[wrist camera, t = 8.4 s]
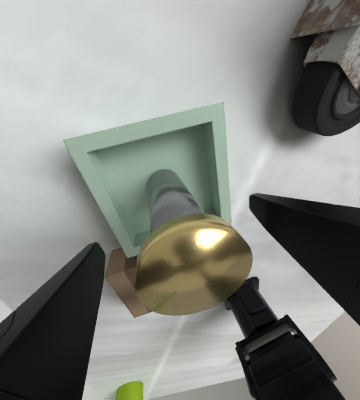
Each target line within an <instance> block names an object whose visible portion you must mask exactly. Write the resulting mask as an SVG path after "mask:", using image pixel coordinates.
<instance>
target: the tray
mask: <svg viewBox="0 0 360 400" xmlns="http://www.w3.org/2000/svg"><path fill="white" fill-rule="evenodd" d="M63 142H64V144H65V146H66V148H67V149H68V151H69V153H70V155H71V157H72V158H73V160H74V162H75V164H76V166H77V168H78V169H79V171H80V173H81V175H82V177H83V178H84V180H85V182H86V184H87V186H88V187H89V189H90V191H91V193H92V195H93V196H94V198H95V200H96V202H97V204H98V206H99V207H100V209H101V211H102V213H103V215H104V216H105V218H106V220H107V222H108V224H109V225H110V227H111V229H112V231H113V233H114V235H115V236H116V238H117V240H118V242H119V244H120V245H121V247H122V249H123V251H124V253H125V254H126V256H127V258H130V257H133V256H136V255H138V253H139V250H140V248H141V246H142V244H143V242H144V241H145V240H146V238H147V237H148V236H149V235H150V234H151V233H150V216H149V200H148V180H149V178H150V176H151V175H152V174H153V173H154V172H156V171H158V170H160V169H169V170H172V171H174V172H175V173H176V174H177V175H178V176H179V177H180V179H181V180H182V182H183V183H184V184H185V186H186V187H187V189H188V190H189V191H190V193H191V194H192V196H193V197H194V199H195V200H196V201H197V203H198V204H199V206H200V207H201V208H202V210H203V211H204V213H205V214H211V215H215V216H218V217H220V218H222V219H224V220H226V221H227V222H228V223H229V224H230V225H231V211H230V194H229V177H228V160H227V143H226V127H225V110H224V102H221V103H217V104H213V105H209V106H205V107H200V108H196V109H192V110H188V111H184V112H179V113H175V114H171V115H167V116H163V117H158V118H154V119H150V120H146V121H141V122H137V123H133V124H129V125H125V126H120V127H116V128H112V129H108V130H104V131H99V132H95V133H91V134H87V135H83V136H78V137H74V138H70V139H66V140H63Z"/></svg>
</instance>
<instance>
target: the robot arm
mask: <svg viewBox="0 0 360 400" xmlns="http://www.w3.org/2000/svg"><path fill="white" fill-rule="evenodd" d="M249 208H250V210H251V212H252V213H253V214H254V215H255V217H256V218H257V219H258V221H259V222H260V223H261V224H262V226H263V227H264V228H265V229H266V230H267V231H268V232H269V233H270V234H271V235H272V237H273V238H274V239H275V240H276V241H277V242H278V243H279V244H280V245H281V246H282V247H283V248H284V249H285V250H286V251H287V252H288V253H289V254H290V255H291V256H292V257H293V258H294V259H295V260H296V261H297V262H298V263H299V264H300V265H301V266H302V267H303V268H304V269H305V270H306V271H307V272H308V273H309V274H310V275H311V276H312V277H313V278H314V279H315V280H316V281H317V282H318V283H319V285H320V286H321V287H322V288H323V289H324V290H325V291H326V292H327V293H328V294H329V295H330V296H331V297H332V298H333V299H334V300H335V301H336V302H337V303H338V304H339V305H340V306H341V307H342V308H343V309H344V310H345V311H346V312H347V313H348V314H349V315H350V316H351V317H352V318H353V319H354V320H355V321H356V322H357V323H358V324H359V326H360V208H357V207H349V206H342V205H333V204H328V203H321V202H315V201H308V200H301V199H294V198H287V197H281V196H274V195H267V194H260V193H255V194H252V195H250V197H249ZM104 267H105V253H104V251H103V250H102V248H101V246H100V245H99V243H97V242H95V243H91V244H89V245H87V246H86V247H85V248H84V249H83V250H82V251H81V252H79V253H78V254H77V255H76V256H75V257H74V258H73V259H72V260H71V261H69V262H68V263H67V264H66V265H65V266H64V267H63V268H62V269H60V270H59V271H58V272H57V273H56V274H55V275H54V276H53V277H51V278H50V279H49V280H48V281H47V282H46V283H45V284H44V285H43V286H41V287H40V288H39V289H38V290H37V291H36V292H35V293H34V294H32V295H31V296H30V297H29V298H28V299H27V300H26V301H25V302H23V303H22V304H21V305H20V306H19V307H18V308H17V309H16V310H15V311H13V312H12V313H11V314H10V315H9V316H8V317H7V318H6V319H5V320H3V321H2V322H1V323H0V400H82V396H83V391H84V385H85V380H86V374H87V369H88V364H89V358H90V353H91V347H92V342H93V337H94V331H95V326H96V320H97V315H98V310H99V304H100V299H101V293H102V288H103V281H104ZM258 289H259V279H258V278H257V277H254V278H252V279H249V280H246V281H244V283H243V284H242V285H241V286H240V288H239V289H238V290H237V291H236V292H234V293H233V294H232V295H231V296H230V297H228V298H227V299H225V307H226V310H230V309H231V310H232V312H233V314H234V316H235V318H236V320H237V322H238V324H239V326H240V328H241V330H242V333H243V335H244V337H245V339H243V340H242V341H240V342H239V341H238V342H236V346H237V347H236V348H235V349H236V351H237V354H238V356H239V359H240V361H241V364H242V367H243V371H244V374H245V378H246V381H247V385H248V388H249V391H250V394H251V396H252V397H253V398H254V399H255V400H345V398H344V397H343V396H342V394H341V393H340V392H339V390H338V389H337V388H336V386H335V385H334V383H333V382H334V381H336V380H337V378H336V376H335V375H334V374H333V372H332V370H331V369H330V368H329V366H328V365H327V363H326V362H325V361H324V359H323V358H322V357H321V355H320V354H319V353H318V351H317V350H316V349H315V348H314V346H313V345H312V344H311V343H310V342H309V340H308V339H307V338H306V337H305V335H304V334H303V333H302V332H301V331H300V329H299V328H298V327H297V326H296V324H295V323H294V322H293V321H292V319H291V318H290V317H289V316H288V315H285V316H284V317H283V318H281V319H279V320H278V318H277V317H276V315H275V314H274V312H273V311H272V310H271V308H270V307H269V305H268V304H267V302H266V301H265V300H264V298H263V297H262V295H261V294H260V292H259V291H258ZM291 332H293V333H294V335H292V334H291Z"/></svg>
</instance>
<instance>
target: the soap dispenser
mask: <svg viewBox="0 0 360 400" xmlns="http://www.w3.org/2000/svg"><path fill="white" fill-rule="evenodd" d="M116 400H143V383H142V382H131V383H128V384H125V385H123V386H121V387H120V388H119V389H118V390H117V395H116Z"/></svg>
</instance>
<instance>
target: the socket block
mask: <svg viewBox="0 0 360 400" xmlns="http://www.w3.org/2000/svg"><path fill="white" fill-rule="evenodd" d="M137 257H138V255H136V256H133V257H130V258H127V256H126V254H125V253H124V251H123V249H122V248H120V249H117V250H114V251H112V254H111V257H110V261H109V265H108V269H107V273H106V277H105V278H106V279H107V281H108V282H109V283H110V285H111V286H112V287H113V289H114V290H115V292H116V293H117V294H118V296H119V297H120V299H121V300H122V301H123V303H124V304H125V306H126V307H127V308H128V310H129V311H130V312H131V314H132V315H133V317H134V318H136V317H138V316H141V315H144V314H147V313H150V312H152V311H151V310H150V309H148V308H146V307H145V306H144V305H143V304H142V303H141V302H140V300H139V298H138V296H137V293H136V267H137Z"/></svg>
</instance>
